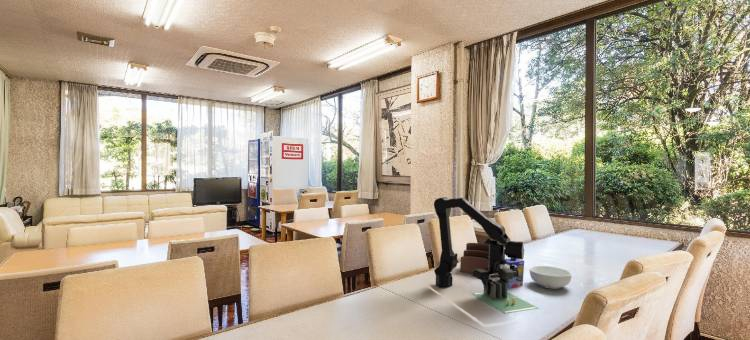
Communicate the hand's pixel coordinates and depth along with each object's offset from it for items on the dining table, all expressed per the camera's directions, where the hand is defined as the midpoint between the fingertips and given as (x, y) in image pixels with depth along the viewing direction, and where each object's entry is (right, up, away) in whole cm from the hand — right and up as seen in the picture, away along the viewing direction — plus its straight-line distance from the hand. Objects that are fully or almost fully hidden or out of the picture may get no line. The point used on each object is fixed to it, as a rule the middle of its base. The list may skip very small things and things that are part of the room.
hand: (495, 293), depth 142 cm
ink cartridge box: (+12, -2, +14) cm, 18 cm away
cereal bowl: (+30, -3, +16) cm, 34 cm away
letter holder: (+5, -2, +34) cm, 34 cm away
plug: (0, -1, 0) cm, 1 cm away
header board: (+2, -2, -5) cm, 5 cm away
